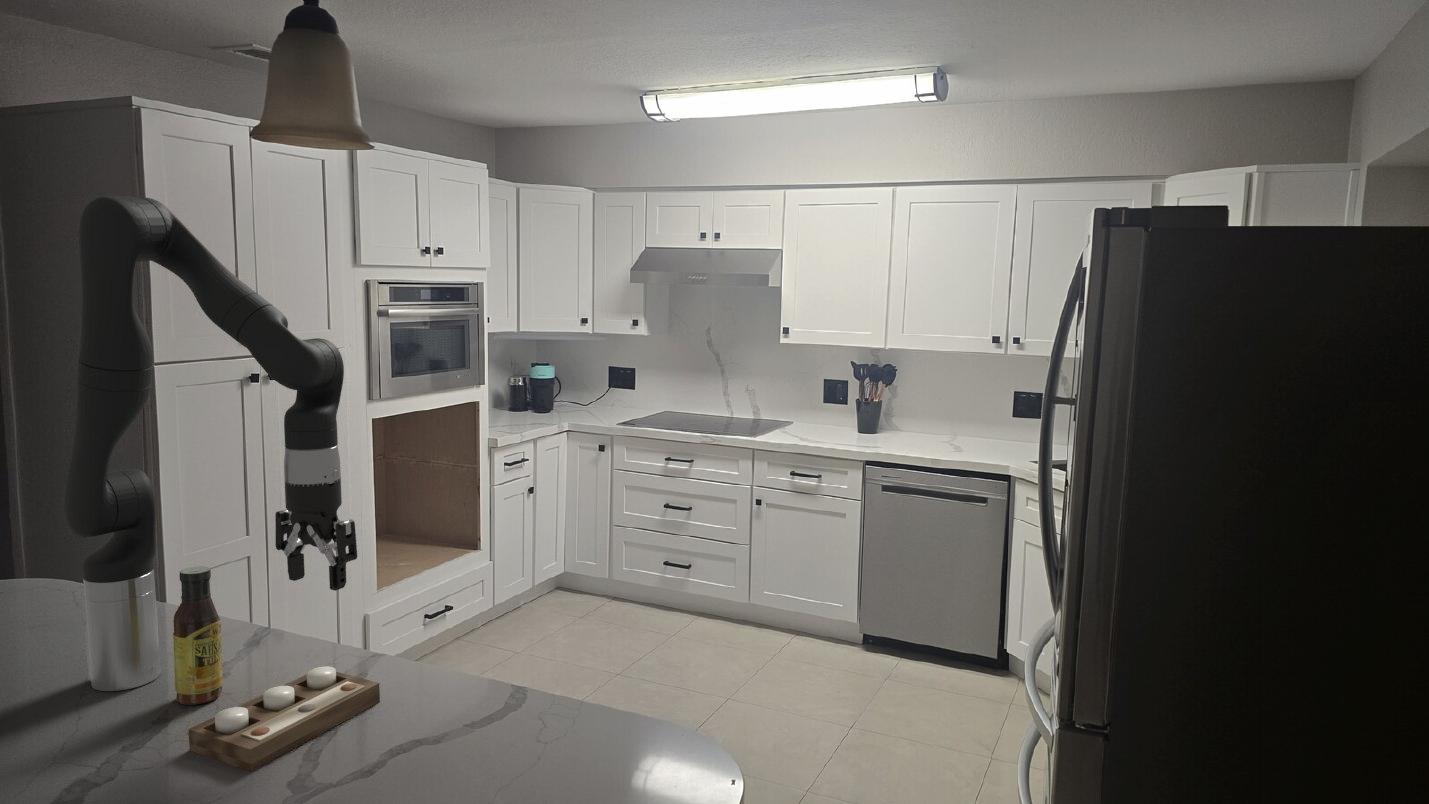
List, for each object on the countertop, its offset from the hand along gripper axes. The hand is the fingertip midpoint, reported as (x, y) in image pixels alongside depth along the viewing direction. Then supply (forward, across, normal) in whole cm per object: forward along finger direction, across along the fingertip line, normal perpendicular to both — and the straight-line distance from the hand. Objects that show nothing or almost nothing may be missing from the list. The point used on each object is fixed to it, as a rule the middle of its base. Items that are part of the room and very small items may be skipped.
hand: (317, 583), depth 135 cm
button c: (+16, 0, -15) cm, 22 cm away
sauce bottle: (+19, -17, -8) cm, 26 cm away
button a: (+16, 0, 0) cm, 16 cm away
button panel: (+18, +2, -7) cm, 20 cm away
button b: (+16, 0, -7) cm, 17 cm away
